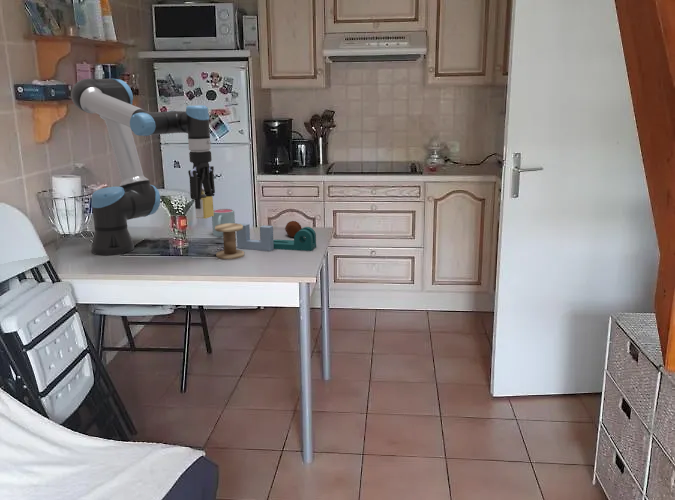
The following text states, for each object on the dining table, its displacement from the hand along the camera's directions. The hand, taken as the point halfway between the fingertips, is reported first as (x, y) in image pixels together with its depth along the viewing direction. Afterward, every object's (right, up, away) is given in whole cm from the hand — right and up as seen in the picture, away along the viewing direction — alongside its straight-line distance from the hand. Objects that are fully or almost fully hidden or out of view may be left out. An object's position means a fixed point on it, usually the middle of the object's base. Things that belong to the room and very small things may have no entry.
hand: (204, 215), depth 225 cm
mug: (0, -6, +36) cm, 36 cm away
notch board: (+16, -12, +14) cm, 25 cm away
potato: (+30, -7, +34) cm, 46 cm away
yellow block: (0, 0, 0) cm, 0 cm away
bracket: (+30, -12, +16) cm, 36 cm away
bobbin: (+9, -14, +5) cm, 17 cm away
